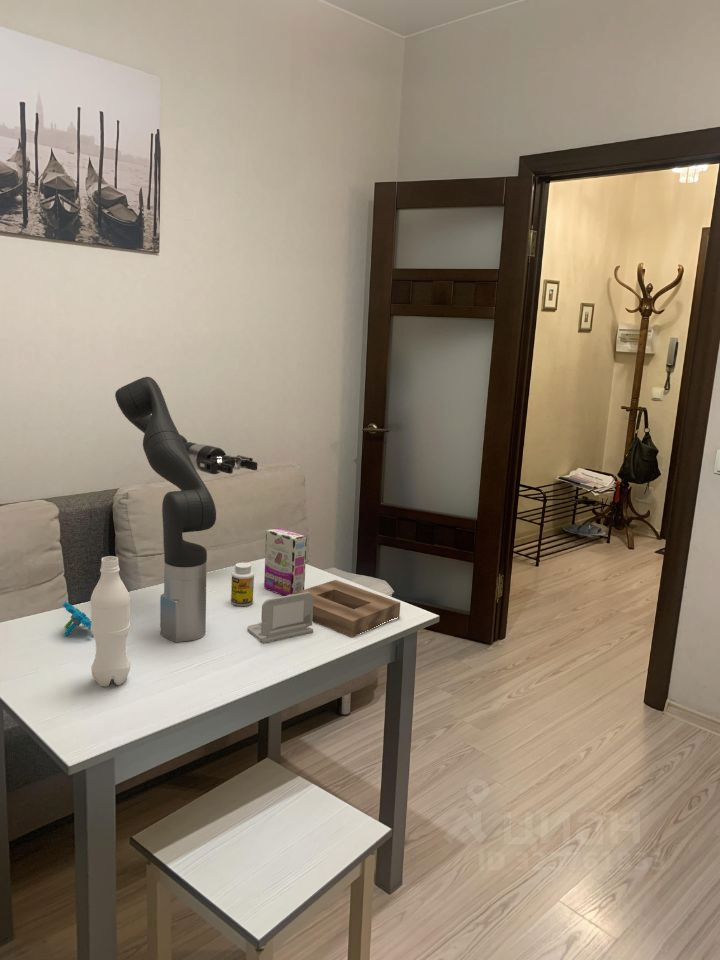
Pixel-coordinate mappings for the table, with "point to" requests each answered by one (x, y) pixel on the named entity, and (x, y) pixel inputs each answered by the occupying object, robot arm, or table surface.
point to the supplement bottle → (242, 585)
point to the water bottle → (110, 625)
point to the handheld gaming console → (284, 618)
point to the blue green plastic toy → (75, 618)
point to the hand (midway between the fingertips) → (244, 468)
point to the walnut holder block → (350, 607)
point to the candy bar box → (284, 561)
